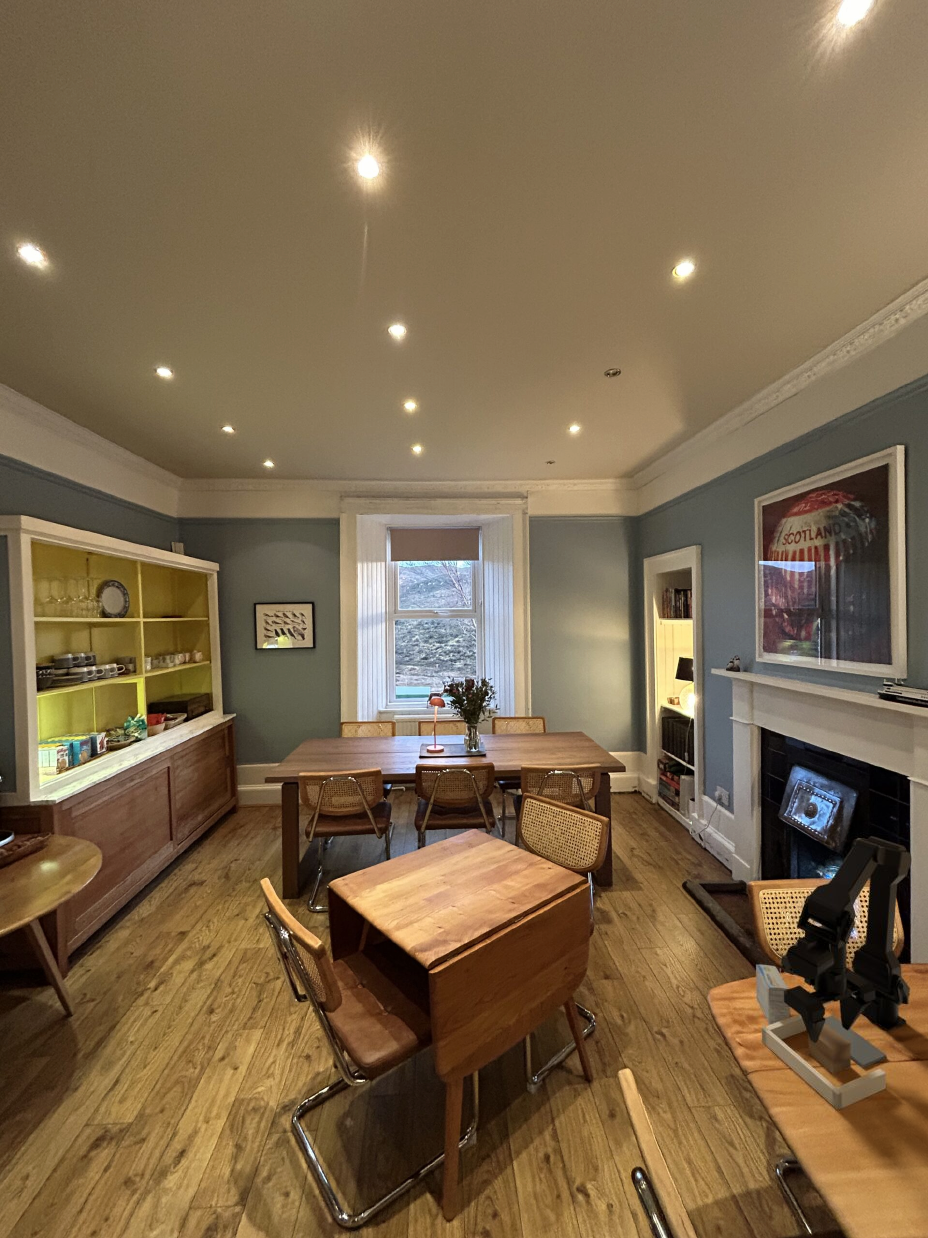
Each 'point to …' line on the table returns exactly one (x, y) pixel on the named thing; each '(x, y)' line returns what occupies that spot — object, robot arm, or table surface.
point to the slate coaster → (856, 1044)
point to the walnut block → (831, 1050)
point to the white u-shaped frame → (833, 1095)
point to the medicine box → (771, 993)
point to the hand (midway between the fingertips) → (829, 1035)
